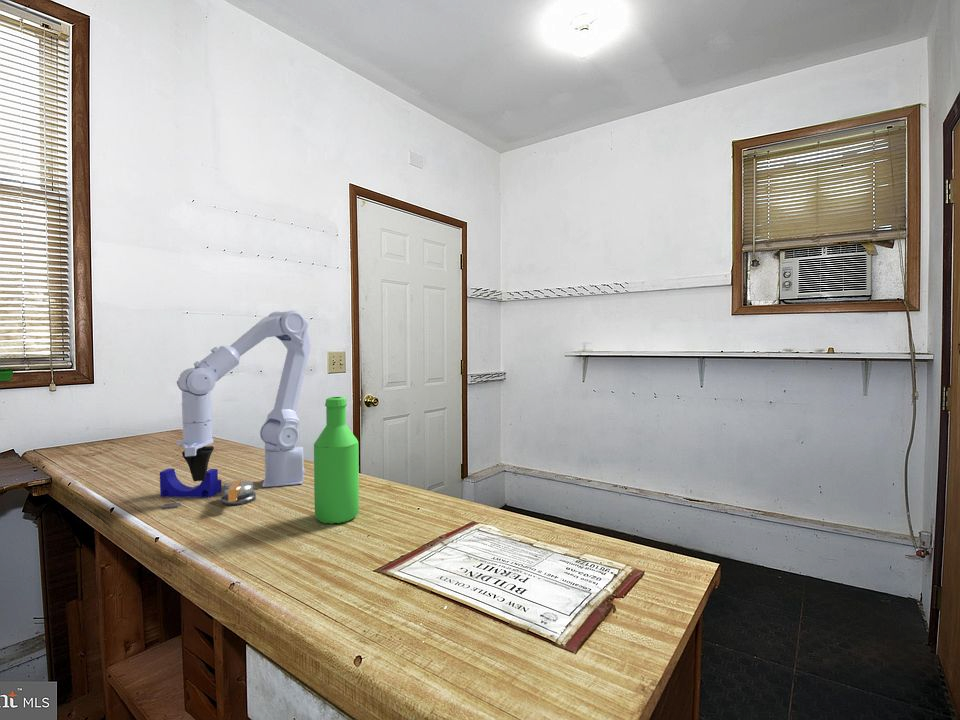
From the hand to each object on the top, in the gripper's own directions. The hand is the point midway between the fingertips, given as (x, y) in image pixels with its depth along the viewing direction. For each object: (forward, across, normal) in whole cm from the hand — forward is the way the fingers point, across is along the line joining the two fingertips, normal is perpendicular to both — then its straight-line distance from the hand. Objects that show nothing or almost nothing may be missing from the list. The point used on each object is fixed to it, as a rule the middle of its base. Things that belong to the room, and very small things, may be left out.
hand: (199, 480), depth 110 cm
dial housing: (+5, +2, +8) cm, 10 cm away
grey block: (+5, +2, -5) cm, 7 cm away
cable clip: (+5, -6, -3) cm, 9 cm away
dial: (+3, +5, +8) cm, 11 cm away
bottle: (+5, +20, +29) cm, 36 cm away
